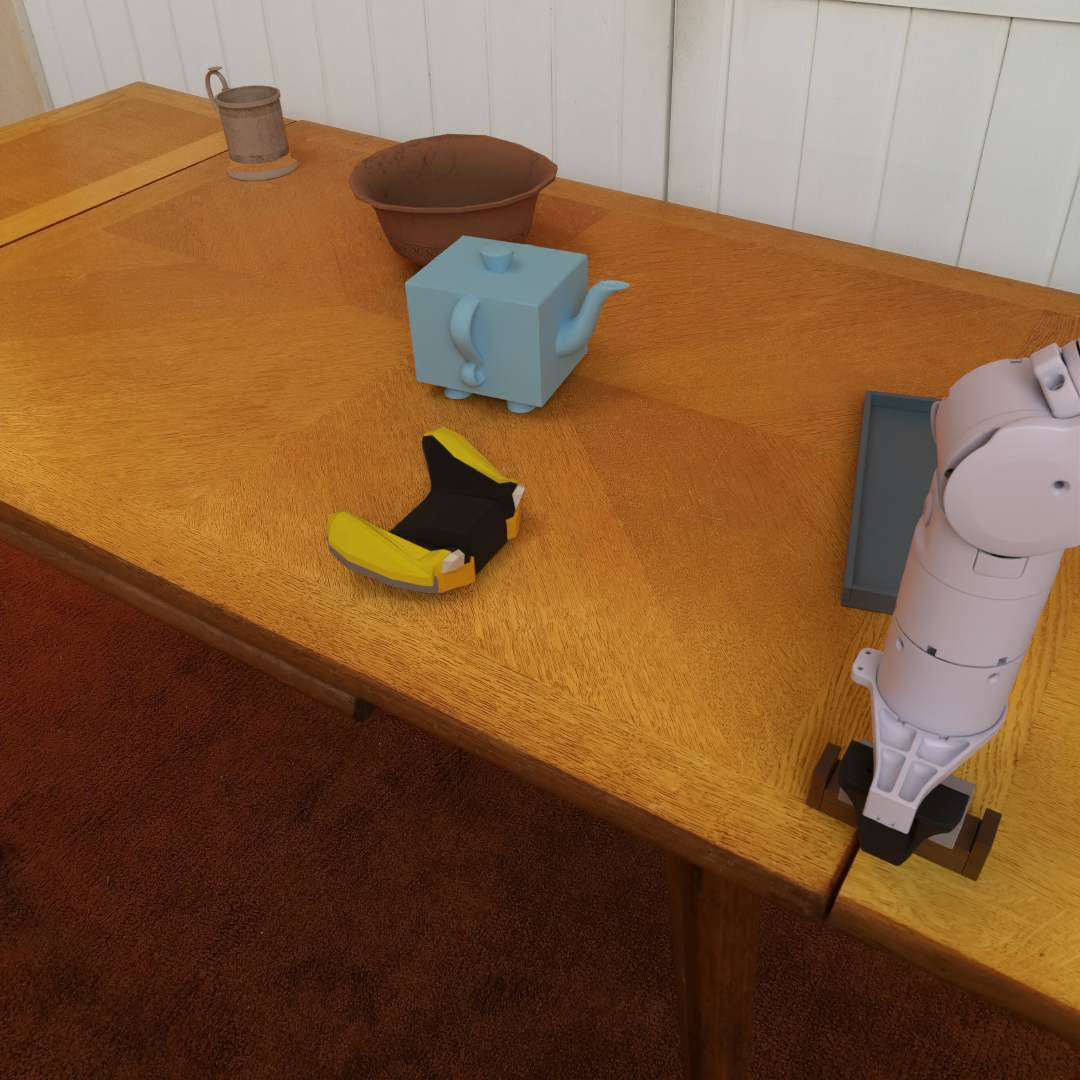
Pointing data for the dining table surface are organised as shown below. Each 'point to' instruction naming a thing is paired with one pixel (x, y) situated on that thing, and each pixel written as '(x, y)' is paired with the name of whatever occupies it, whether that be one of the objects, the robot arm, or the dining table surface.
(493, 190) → the bowl
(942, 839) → the grey block
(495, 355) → the teapot
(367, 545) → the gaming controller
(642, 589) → the dining table surface
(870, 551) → the tray
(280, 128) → the mug
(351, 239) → the dining table surface
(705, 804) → the dining table surface
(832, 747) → the brown drawer handle
